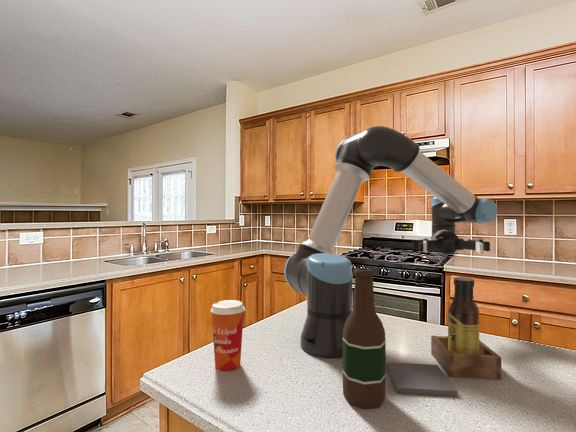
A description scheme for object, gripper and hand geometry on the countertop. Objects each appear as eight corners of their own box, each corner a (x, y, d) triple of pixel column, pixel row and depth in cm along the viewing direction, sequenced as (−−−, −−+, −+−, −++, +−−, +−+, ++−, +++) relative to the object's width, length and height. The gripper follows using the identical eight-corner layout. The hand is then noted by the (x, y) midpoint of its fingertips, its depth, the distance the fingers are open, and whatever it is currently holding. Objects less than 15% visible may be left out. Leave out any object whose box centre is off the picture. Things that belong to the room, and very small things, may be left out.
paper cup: (203, 370, 72) (203, 306, 72) (222, 356, 79) (222, 298, 79) (234, 376, 69) (234, 310, 69) (251, 361, 76) (251, 301, 76)
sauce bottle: (447, 357, 78) (447, 274, 78) (476, 362, 76) (476, 276, 76) (449, 369, 72) (449, 279, 72) (481, 374, 70) (481, 281, 70)
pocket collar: (448, 376, 69) (448, 355, 69) (431, 353, 80) (431, 335, 80) (501, 379, 68) (501, 357, 68) (476, 356, 79) (476, 337, 79)
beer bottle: (387, 412, 56) (387, 273, 56) (341, 407, 58) (341, 271, 58) (383, 389, 64) (383, 266, 64) (343, 385, 65) (343, 265, 65)
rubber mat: (396, 392, 62) (396, 387, 62) (386, 366, 73) (386, 362, 73) (457, 396, 61) (457, 391, 61) (437, 369, 72) (437, 364, 72)
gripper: (489, 254, 103) (507, 264, 83) (405, 252, 112) (403, 260, 92) (489, 230, 103) (507, 234, 83) (405, 230, 112) (403, 233, 92)
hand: (452, 248), depth 88 cm, fingers open, 13 cm apart
